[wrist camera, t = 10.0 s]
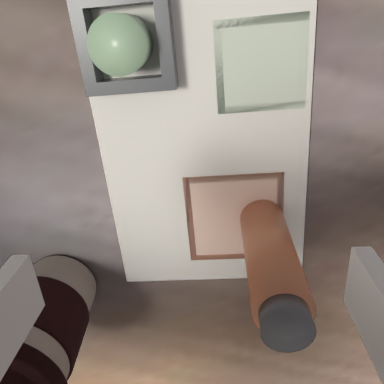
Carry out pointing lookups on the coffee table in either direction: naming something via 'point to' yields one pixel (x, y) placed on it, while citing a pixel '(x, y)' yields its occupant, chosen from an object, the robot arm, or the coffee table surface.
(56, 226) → the coffee table surface
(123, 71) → the button
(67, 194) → the coffee table surface
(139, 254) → the sheet
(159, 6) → the button housing
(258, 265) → the marker
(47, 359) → the coffee cup
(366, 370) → the coffee table surface
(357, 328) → the robot arm
